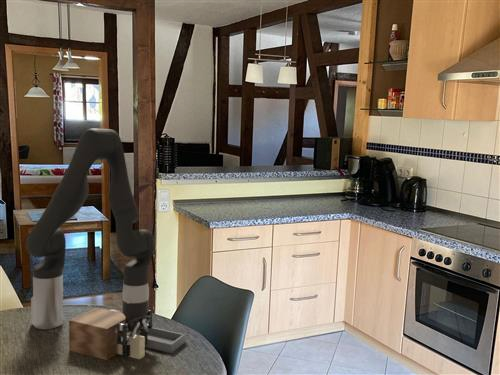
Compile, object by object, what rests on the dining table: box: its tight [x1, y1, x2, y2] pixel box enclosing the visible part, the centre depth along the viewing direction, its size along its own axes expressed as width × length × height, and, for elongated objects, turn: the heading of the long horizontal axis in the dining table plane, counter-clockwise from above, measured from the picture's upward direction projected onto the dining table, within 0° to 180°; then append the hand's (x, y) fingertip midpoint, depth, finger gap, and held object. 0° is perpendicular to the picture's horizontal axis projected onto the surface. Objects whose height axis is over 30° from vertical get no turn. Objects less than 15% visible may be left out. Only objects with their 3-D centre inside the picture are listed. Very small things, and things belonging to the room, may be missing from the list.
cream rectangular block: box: [116, 333, 146, 360], centre depth 146 cm, size 12×3×6 cm, turn 68°
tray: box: [135, 326, 186, 354], centre depth 155 cm, size 16×8×3 cm, turn 68°
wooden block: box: [68, 306, 132, 361], centre depth 149 cm, size 15×12×10 cm
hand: (135, 350), depth 145 cm, fingers open, 8 cm apart
